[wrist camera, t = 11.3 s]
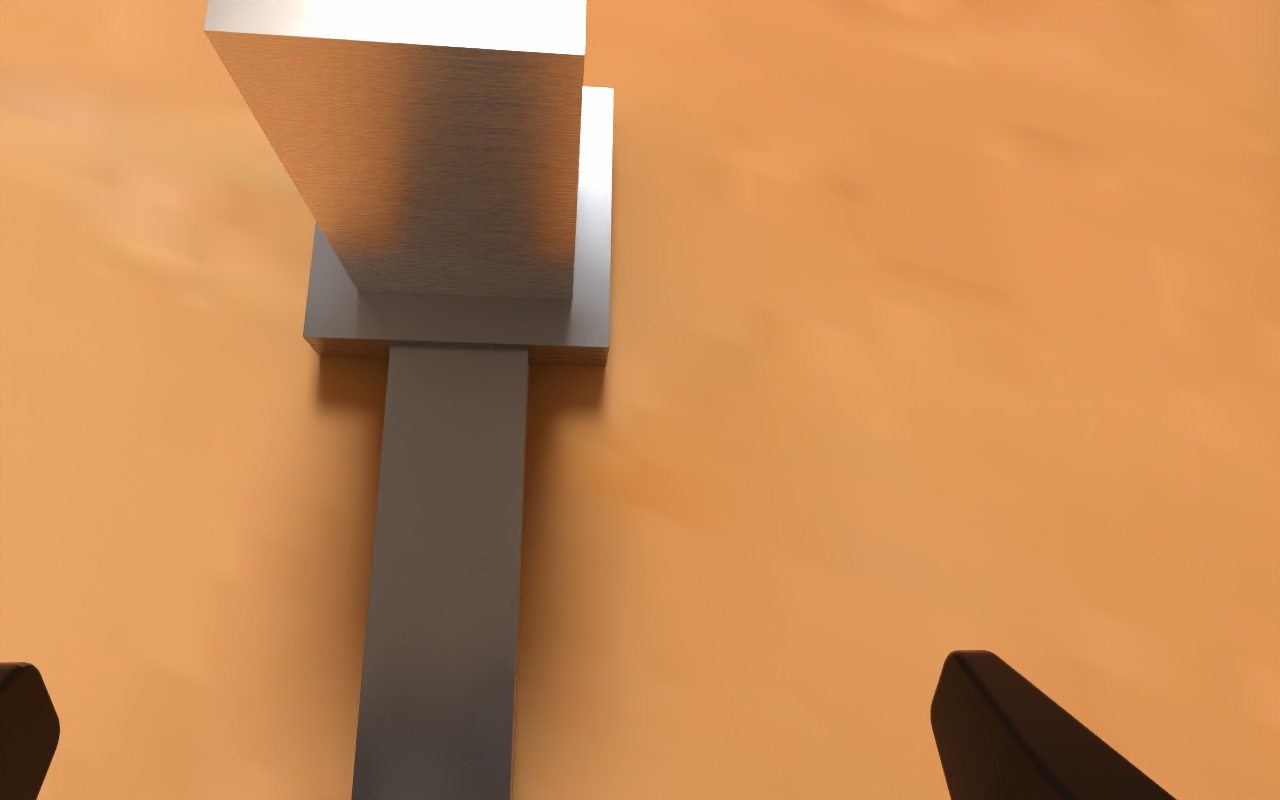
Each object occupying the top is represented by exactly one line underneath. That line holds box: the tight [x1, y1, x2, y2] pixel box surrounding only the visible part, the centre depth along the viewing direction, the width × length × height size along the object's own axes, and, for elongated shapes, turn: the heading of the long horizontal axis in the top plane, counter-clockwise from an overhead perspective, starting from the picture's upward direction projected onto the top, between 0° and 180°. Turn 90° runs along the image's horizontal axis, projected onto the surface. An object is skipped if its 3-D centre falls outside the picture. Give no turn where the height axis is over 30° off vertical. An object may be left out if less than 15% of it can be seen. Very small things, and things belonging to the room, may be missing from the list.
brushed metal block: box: [204, 0, 586, 299], centre depth 16 cm, size 5×5×9 cm
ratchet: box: [303, 87, 613, 800], centre depth 18 cm, size 23×7×4 cm, turn 0°
